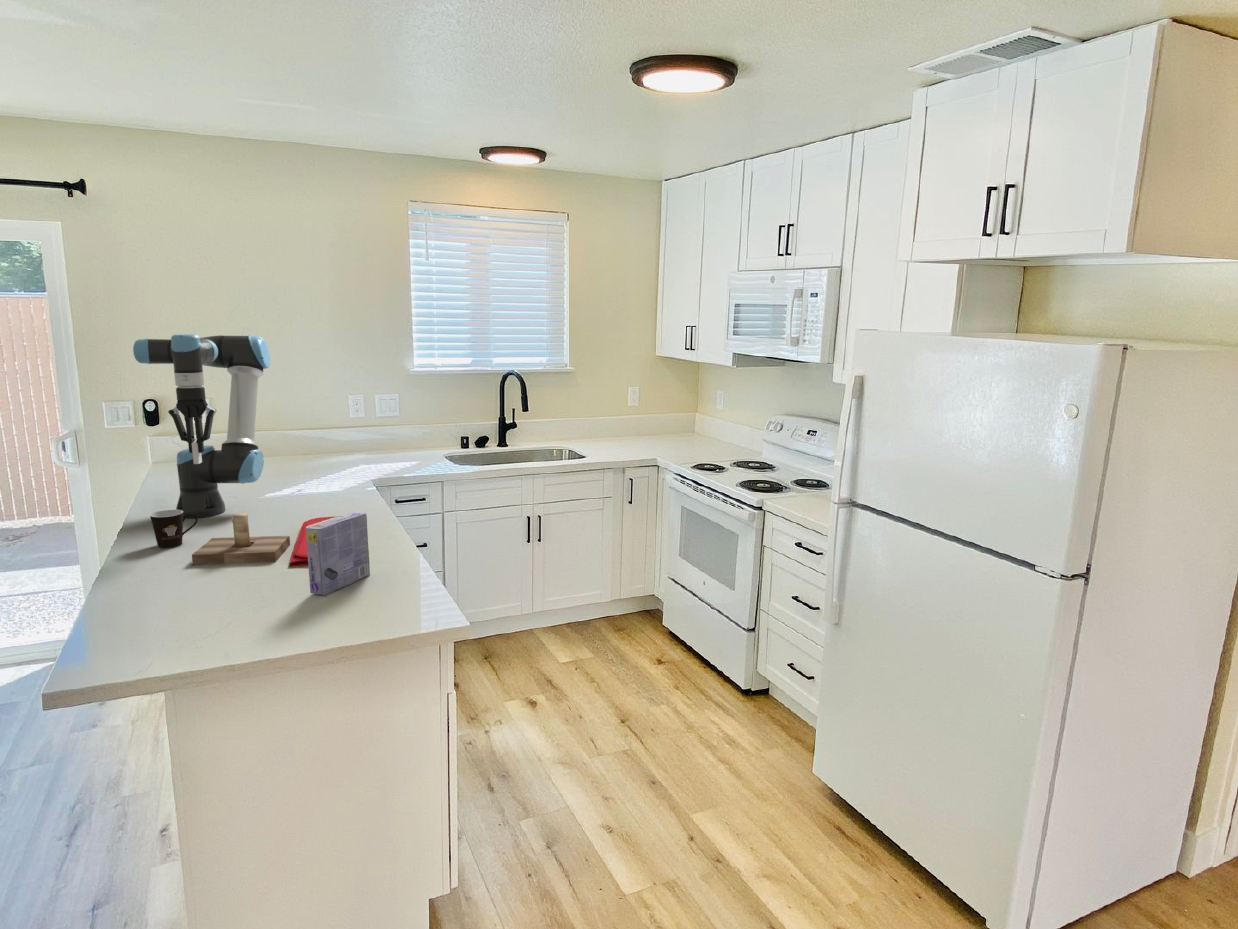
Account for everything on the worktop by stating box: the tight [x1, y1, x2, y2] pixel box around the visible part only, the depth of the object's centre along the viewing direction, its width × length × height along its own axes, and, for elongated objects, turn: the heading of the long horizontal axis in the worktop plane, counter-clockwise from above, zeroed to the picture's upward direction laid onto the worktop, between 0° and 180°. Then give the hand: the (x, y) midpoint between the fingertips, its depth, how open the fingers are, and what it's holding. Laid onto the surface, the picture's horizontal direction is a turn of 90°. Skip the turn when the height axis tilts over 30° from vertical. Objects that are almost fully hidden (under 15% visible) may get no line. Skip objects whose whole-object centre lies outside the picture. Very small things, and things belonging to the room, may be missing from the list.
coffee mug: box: [149, 509, 198, 549], centre depth 227 cm, size 12×9×10 cm
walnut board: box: [191, 535, 291, 566], centre depth 220 cm, size 16×22×3 cm
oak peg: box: [231, 513, 251, 548], centre depth 219 cm, size 4×4×12 cm
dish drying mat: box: [289, 515, 344, 568], centre depth 231 cm, size 16×41×4 cm, turn 18°
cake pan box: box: [306, 512, 371, 597], centre depth 197 cm, size 19×5×18 cm, turn 159°
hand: (197, 463), depth 230 cm, fingers closed
